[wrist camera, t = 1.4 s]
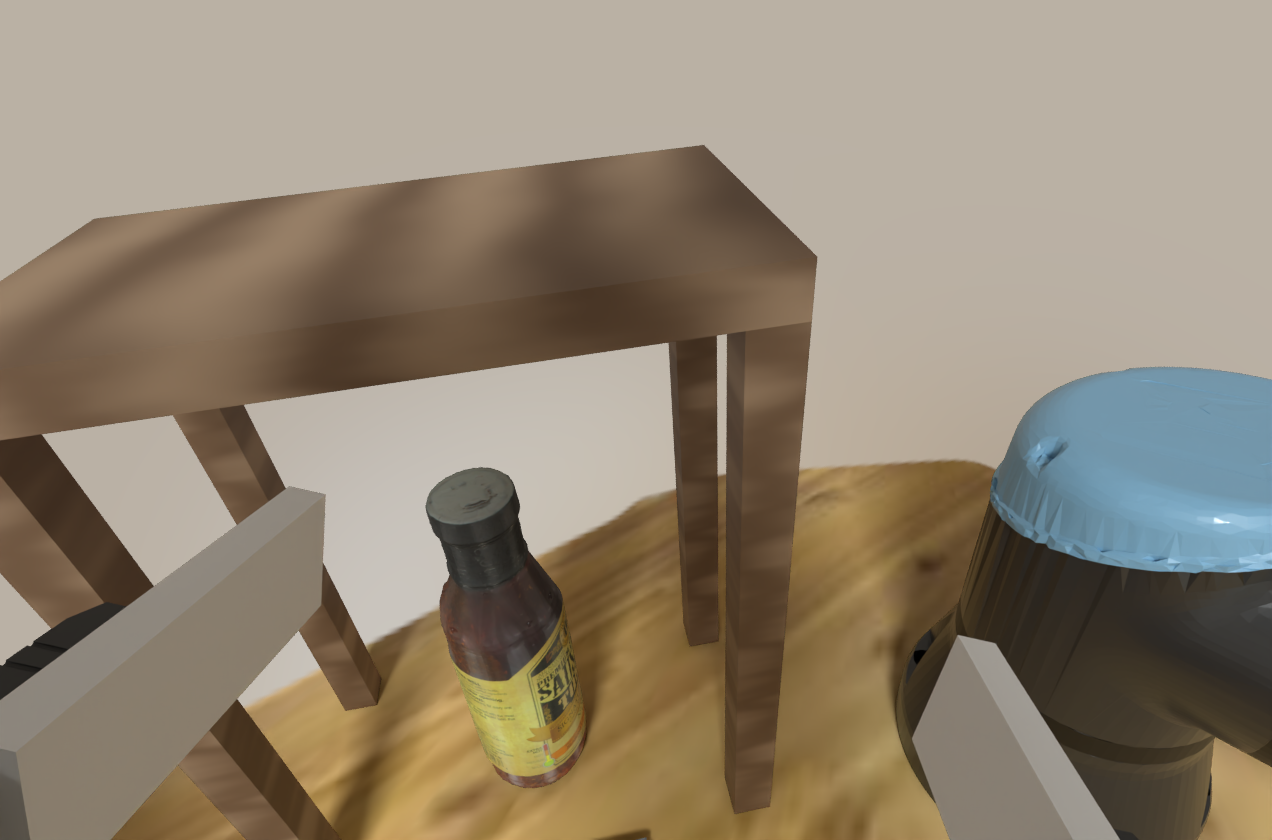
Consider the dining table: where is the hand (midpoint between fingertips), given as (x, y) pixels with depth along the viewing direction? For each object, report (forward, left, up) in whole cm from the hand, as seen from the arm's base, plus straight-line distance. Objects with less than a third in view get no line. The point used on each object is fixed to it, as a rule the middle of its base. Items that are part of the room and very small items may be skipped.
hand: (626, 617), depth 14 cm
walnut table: (+6, -14, -28) cm, 32 cm away
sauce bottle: (+6, -14, -28) cm, 32 cm away
